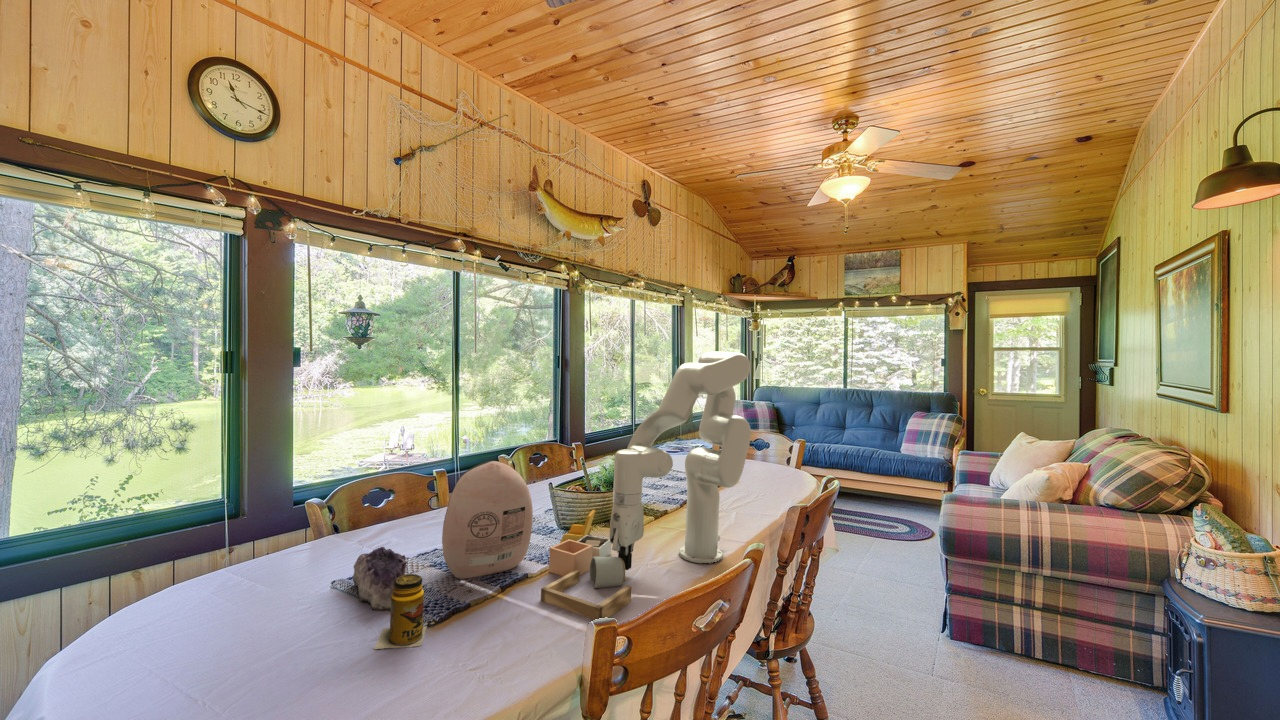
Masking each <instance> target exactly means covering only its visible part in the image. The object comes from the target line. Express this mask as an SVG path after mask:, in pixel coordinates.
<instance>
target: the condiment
mask: <svg viewBox="0 0 1280 720" xmlns="http://www.w3.org/2000/svg"><path fill="white" fill-rule="evenodd" d="M424 597H425V592H424V589H423V577H422V576H421V575H419V574H415V573H413V574H412V573H407V574H405V575H403V576H400V577H398V578H397V579H396V580H395V581H394V588H393V593H392V595H391V610H390V616H389V617H390V620H389V622H390V623H389V624H390V625H389V627H386V628H383V629H382V631H381V633H380V635H379V638H378V640H377V641H376V644H375V646H374V648H373V649H374V650H378V649H380V650H381V649H382V650H383V649H390V648H392V649H395V648H397V649H398V648H399V649H400V648H412V647H420V646H422V644H423V641H424V638H425V634H426V632H427V628H428V625H424V607H425V606H424V602H425V601H424V600H425V599H424ZM423 625H424V626H423Z"/></svg>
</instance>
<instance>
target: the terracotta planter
mask: <svg viewBox="0 0 1280 720" xmlns="http://www.w3.org/2000/svg"><path fill="white" fill-rule="evenodd" d="M592 554H593V546H592V545H588V544H585V543H581V542H577V541H574V540H570V539H568V540H566V541H564V542H562V543H560V542H559V543H557V544H555V545H553V546H551V547H549V556H548V557H549V559H548V560H549V561H548V573H551V574H555V575H557V576H561V577H564V576H565V575H567V574H569V573H571V572H573V571H575V570H579V571H580V577H581V576H583V575H584V574H586V573H588V572H590V563H591V559H592Z"/></svg>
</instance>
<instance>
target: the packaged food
mask: <svg viewBox="0 0 1280 720" xmlns="http://www.w3.org/2000/svg"><path fill="white" fill-rule="evenodd" d="M533 511H534V509H533V501H532V496H531V492H530V490H529V487H528V484H527V482H526V481H525V480H524V478H523V476H522V475H520V473H519V472H518V471H516V470H515V469H514V468H513V467H512V466H510V465H508V464H506V463H505V462H501V461H498V460H488V461H487V460H486V461H483V462H481V463H478V464H477V465H474V466H472V467H470V468H469V469H467V470H466V471H464V472H463V474H461V475H460V477H459V478H458V479H457V481H456V483H455V485H454V488H453V490H452V492H451V494H450V497H449V500H448V504H447V508H446V512H445V515H444V520H443V526H442V534H441V545H442V553H443V554H442V555H443V559H444V562H445V564H446V566H447V568H448V570H449V571H450V573H451V574H452V575H453V576H454V577H456V578H458V579H460V580H462V579H463V580H464V579H465V580H466V579H471V578H476V577H484V576H489V575H493V574H498V573H502V572H505V571H506V572H507V571H509V570H512V569H514V568H516V567H517V566H518V565H519V564H520V563H522V561H523V560H524V559H525V556H527V552H528V551H529V547H530V543H531V537H532V532H533V531H532V530H533V515H534V514H533Z"/></svg>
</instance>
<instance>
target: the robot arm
mask: <svg viewBox="0 0 1280 720" xmlns="http://www.w3.org/2000/svg"><path fill="white" fill-rule="evenodd" d="M698 358H699V359H698V361H697V362H685V363H682V364H681V365H679V366H678V367H677V369H676V371H675V374H674V375H673V377H672V379H671V382H670V383H669V386H668V388H667V390H666V393H665V394H664V397H663V399H662V401H661V403H660V405H659V406H658V408H657V409H656V410H655V411H653V412H652V413H651V414H650V415H648V417H646V419H644V421H642V422H641V423H640V424H639V425H638V427H637V428H636V429H635V431H634V433H632V434H633V435H632V437H631V438H630V441H629V443H628V445H627V448H624V449H619V450H617V451H616V452H615V454H614V462H613V463H614V464H613V491H612V509H611V515H610V521H609V523H610V524H609V539H610V542H611V544H612V545H611V551H613V552H616V553H617V557H620V558H622V559H623V561H624V564H625V571H628V570H630V569H632V561H633V552H634V547H635V543H637V542H638V541H639V540H641V539H642V538H643V537H644V529H645V525H644V524H645V523H644V521H645V519H644V506H643V500H642V499H643V482H644V481H643V479H644V478H651V479H652V478H653V479H654V478H655V479H659V478H663V477H665V476H667V475H668V474H669V473H670V472H671V471H672V468H673V467H674V465H673V463H674V462H673V457H672V456H671V454H670V453H669V452H667V451H666V450H665V449H660V448H658V447H654V446H653V444H654V443H655V441H656V439H657V438H659V436H660V435H661V434H663V433H664V432H666V431H668V430H670V429H672V428H675V427H679V426H680V425H683V424H685V423H687V421H688V419H689V417H690V415H691V413H692V410H693V408H694V407H695V403H696V402H697V399H698V397H699V395H706V400H705V404H704V408H703V412H702V416H701V420H700V423H699V424H700V425H699V428H698V435H699V438H700V439H701V440H702V441H703V442H704V443H707V444H710V445H713V446H719V447H721V450H717V449H714V448H709V447H701V446H699V447H695V448H692V449H691V450H690V451H689V452H687V454H686V456H685V459H684V472H685V478H686V490H687V491H686V511H685V535H684V545H683V546H681V547H680V548H679V552H678V553H679V557H681V558H682V559H684V560H685V561H688V562H690V563H695V564H702V563H709V564H714V563H713V562H715V563H718V562H720V561H721V560H723V554H724V553H723V552H722V551H721V549H719V548H718V545H719V544H718V543H719V541H720V540H721V537H720V535H719V525H720V524H719V522H720V521H719V520H720V502H721V501H720V499H721V496H720V491H719V487H721V488H725V489H727V488H728V489H729V488H733V487H735V486H736V485H737V484H738V483H739V482H740V479H741V478H742V475H743V471H744V467H745V464H746V460H747V455H748V452H749V447H750V444H751V440H752V439H751V438H752V432H751V425H750V423H749V421H747V419H746V418H744V417H742V416H740V415H735V414H734V410H735V405H736V393H735V389H734V387H735V386H737V385H740V384H741V383H743V382H744V381H745V380H747V378H748V377H749V376H750V373H751V361H750V359H749V358H748V356H746V355H745V354H743V353H741V352H736V351H735V352H733V351H732V352H731V351H729V352H728V351H708V352H704V353H702V354H701V355H700V356H699V357H698ZM720 559H721V560H720ZM719 560H720V561H719ZM717 561H718V562H717ZM711 562H712V563H711Z"/></svg>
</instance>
